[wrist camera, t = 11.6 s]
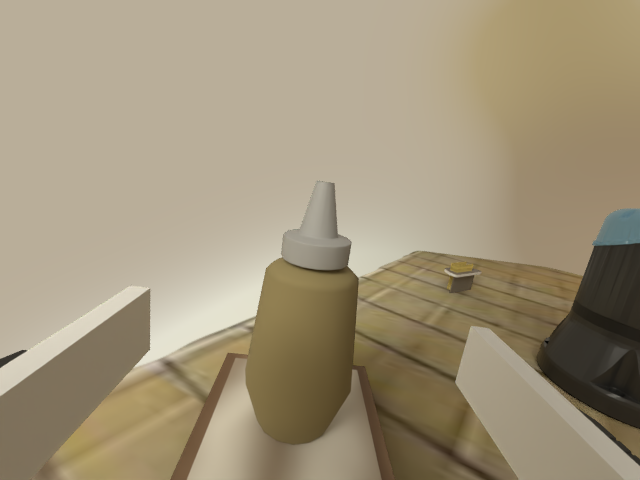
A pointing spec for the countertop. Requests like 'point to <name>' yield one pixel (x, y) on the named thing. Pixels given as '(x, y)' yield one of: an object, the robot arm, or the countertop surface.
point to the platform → (460, 276)
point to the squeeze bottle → (305, 328)
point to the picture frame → (277, 457)
